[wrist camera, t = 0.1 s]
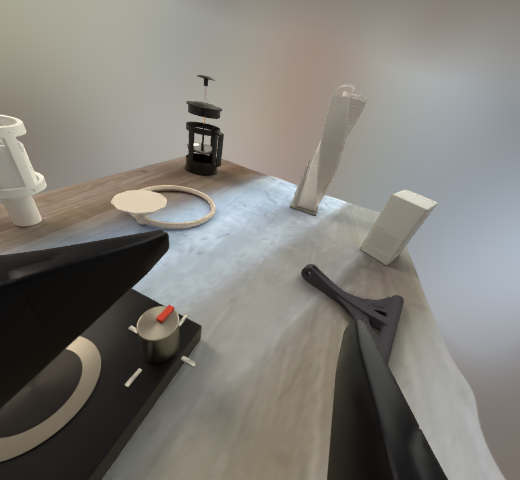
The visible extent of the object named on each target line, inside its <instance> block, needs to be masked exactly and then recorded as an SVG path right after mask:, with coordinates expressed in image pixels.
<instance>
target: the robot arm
mask: <svg viewBox="0 0 520 480" xmlns="http://www.w3.org/2000/svg"><path fill="white" fill-rule="evenodd" d="M168 249H169V235H168V233H166V232H164V231H162V230H157V231H151V232H145V233H139V234H134V235H128V236H122V237H116V238H110V239H105V240H99V241H93V242H87V243H81V244H76V245H71V246H64V247H58V248H52V249H46V250H39V251H31V252H24V253H16V254H8V255H0V409H1V408H2V407H3V406H4V405H5V404H6V403H7V402H8V401H10V400H11V399H12V398H13V397H14V396H15V395H16V394H17V393H18V392H19V391H20V390H21V389H23V388H24V387H25V386H26V385H27V384H28V383H29V382H30V381H31V380H32V379H33V378H35V377H36V376H37V375H38V374H39V373H40V372H41V371H42V370H43V369H44V368H45V367H46V366H48V365H49V364H50V363H51V362H52V361H53V360H54V359H55V358H56V357H57V356H58V355H60V354H61V352H63V351H64V350H65V349H66V348H67V347H68V346H69V345H70V344H71V343H72V342H73V341H75V340H76V339H77V338H78V337H79V336H80V335H81V334H82V333H83V332H84V331H85V330H87V329H88V328H89V327H90V326H91V325H92V324H93V323H94V322H95V321H96V320H97V319H99V318H100V317H101V316H102V315H103V314H104V313H105V312H106V311H107V310H108V309H109V308H110V307H112V306H113V305H114V304H115V303H116V302H117V301H118V300H119V299H120V298H121V297H122V296H124V295H125V294H126V293H127V292H128V291H129V290H130V289H131V288H132V287H133V286H134V285H135V284H137V283H138V282H139V281H140V280H141V279H142V278H143V277H144V276H145V275H146V274H147V273H148V272H149V271H150V270H151V269H152V268H153V267H154V265H155V264H156V263H157V262H158V261H159V260H160V259H161V258H162V256H163V255H164V254H165V253H166V252H167V251H168ZM327 480H448V479H447V477H446V475H445V473H444V472H443V470H442V468H441V466H440V464H439V462H438V461H437V459H436V457H435V455H434V453H433V451H432V449H431V448H430V446H429V444H428V442H427V440H426V438H425V436H424V434H423V432H422V430H421V429H419V425H418V423H417V421H416V419H415V417H414V415H413V413H412V411H411V409H410V407H409V405H408V403H407V401H406V400H405V398H404V396H403V394H402V392H401V390H400V388H399V386H398V384H397V382H396V380H395V378H394V376H393V374H392V372H391V370H390V369H389V367H388V365H387V363H386V361H385V359H384V357H383V355H382V353H381V351H380V349H379V347H378V345H377V343H376V341H375V340H374V338H373V336H372V334H371V332H370V330H369V328H368V326H367V324H366V323H365V322H364V321H362V320H359V319H357V318H354V319H353V320H352V321H351V323H350V324H349V325H348V326H347V328H346V329H345V331H344V334H343V339H342V344H341V348H340V353H339V358H338V363H337V369H336V377H335V389H334V401H333V414H332V426H331V438H330V450H329V463H328V475H327Z"/></svg>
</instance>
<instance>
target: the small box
mask: <svg viewBox="0 0 520 480" xmlns="http://www.w3.org/2000/svg"><path fill="white" fill-rule="evenodd" d="M436 205H437V202H435V201H432V200H430V199H428V198H426V197H423V196H421V195H418V194H416V193H413V192H411V191H408V190H403V191H400V192H398V193H395V194H393V195H392V196H391V197H390V199H389V201H388V202H387V204H386V206H385V207H384V209H383V211H382V212H381V214H380V216H379V217H378V219H377V221H376V222H375V224H374V226H373V228H372V229H371V231H370V233H369V234H368V236H367V238H366V239H365V241H364V242H363V244H362V246H361V247H360V249H361V250H362V251H364V252H366V253H367V254H369V255H370V256H372V257H373V258H375V259H377V260H378V261H380V262H381V263H383V264H385V265H388V264H390V263H391V262H392V261H393V260H394V259H395V258H396V257H397V256H398V255H399V254H400V253H401V251H402V250H403V249H404V247H405V246H406V245H407V243H408V242H409V240H410V239H411V238H412V236H413V235H414V234H415V233H416V231H417V230H418V229H419V227H420V226H421V225H422V223H423V222H424V221H425V219H426V218H427V217H428V215H429V214H430V213H431V211H432V210H433V209H434V207H435V206H436Z"/></svg>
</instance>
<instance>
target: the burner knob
mask: <svg viewBox="0 0 520 480" xmlns="http://www.w3.org/2000/svg"><path fill="white" fill-rule="evenodd" d="M136 329H137V334H138V339H139V343H140V348H141V352H142V356H143V357H144V359H145V360H146V361H148V362H150V363H155V364H157V363H163V362H165V361H167V360H169V359H170V358H172V357H173V356H174V355H175V354H176V352H177V350H178V348H179V345H180V328H179V315H178V313H177V312H176V311H175V310H174V307H173V306H171V305H169V306H168V307H167V306H158V307H154V308H151V309H149V310H148V311H146V312H145V313H144V314H143V315H142V316H141V317H140V318H139V320H138V322H137V327H136Z"/></svg>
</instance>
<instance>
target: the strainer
mask: <svg viewBox="0 0 520 480" xmlns="http://www.w3.org/2000/svg"><path fill="white" fill-rule="evenodd" d="M0 125H6V126H0V199H1V200H2V203H3V204H4V206H5V208H6V210H7V212H8V213H9V215H10V217H11V219H12V221H13V223H14V225H16V226H22V227H24V226H32V225H35V224H38V223H40V222H41V221H42V218H41V215H40V213H39V211H38V209H37V207H36V204H35V202H34V199H33V197H32V195H33V194H36V193H38V192H40V191H42V190H44V189H45V188H46V186H47V185H46V182H45V179H44V177H43V176H42V175H41V174H40V173H37V172H34V170H33V168H32V165H31V163H30V160H29V158H28V156H27V153H26V150H25V148H24V146H23V144H22V143H21V142H19V141H17V140H16V136H21V135H23V134H25V133H26V130H25V127H24V125H23V122H22V121H21V120H19V119H17V118H14V117H10V116H5V115H0Z"/></svg>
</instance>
